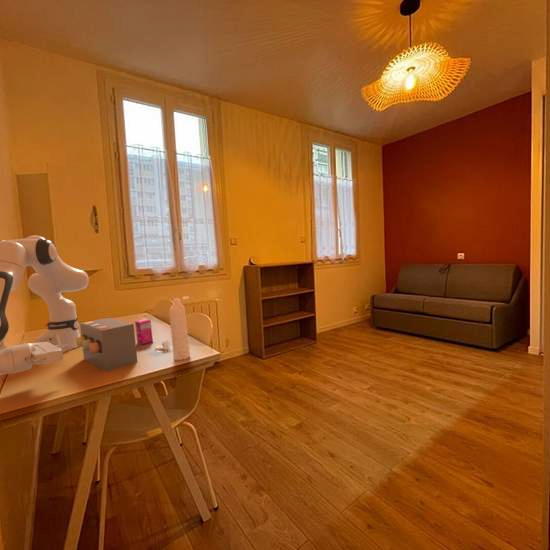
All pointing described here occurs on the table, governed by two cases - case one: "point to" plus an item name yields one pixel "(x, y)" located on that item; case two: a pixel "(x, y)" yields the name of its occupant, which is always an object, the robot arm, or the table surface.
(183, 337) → the water bottle
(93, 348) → the terracotta button
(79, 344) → the ochre button
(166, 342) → the teacup and saucer
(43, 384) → the table surface
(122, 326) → the box
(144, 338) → the supplement box
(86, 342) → the sage button
